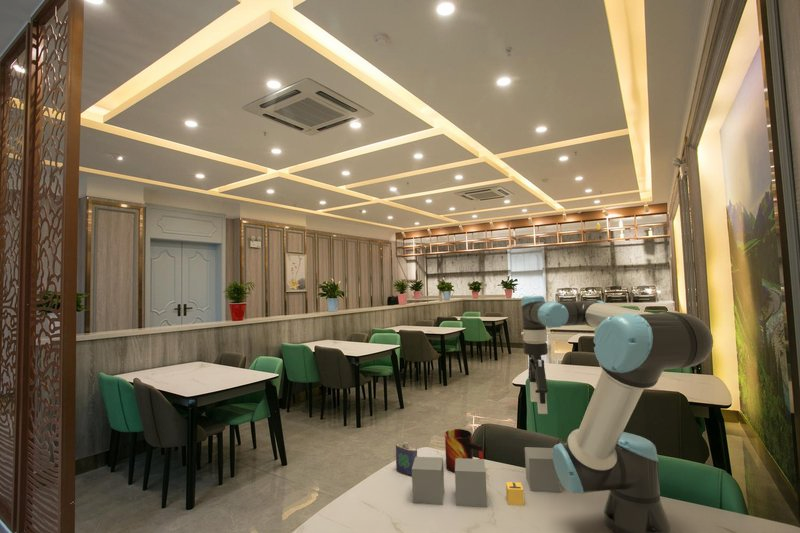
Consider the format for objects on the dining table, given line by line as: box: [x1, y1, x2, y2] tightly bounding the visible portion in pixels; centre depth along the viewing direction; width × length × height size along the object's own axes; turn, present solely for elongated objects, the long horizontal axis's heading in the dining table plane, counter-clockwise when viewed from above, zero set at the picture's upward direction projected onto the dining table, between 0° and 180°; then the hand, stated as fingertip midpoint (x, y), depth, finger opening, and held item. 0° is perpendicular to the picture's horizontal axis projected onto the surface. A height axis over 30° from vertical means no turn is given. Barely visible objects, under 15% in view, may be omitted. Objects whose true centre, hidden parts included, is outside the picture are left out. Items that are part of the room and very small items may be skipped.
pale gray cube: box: [454, 458, 488, 508], centre depth 120 cm, size 9×9×10 cm
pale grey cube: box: [524, 446, 562, 493], centre depth 127 cm, size 9×9×10 cm
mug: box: [444, 428, 484, 474], centre depth 141 cm, size 10×14×12 cm
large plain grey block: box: [411, 456, 445, 506], centre depth 122 cm, size 9×9×10 cm
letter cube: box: [505, 481, 525, 506], centre depth 118 cm, size 4×4×5 cm
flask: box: [395, 441, 418, 477], centre depth 138 cm, size 9×3×11 cm, turn 50°
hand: (538, 407), depth 128 cm, fingers open, 13 cm apart
